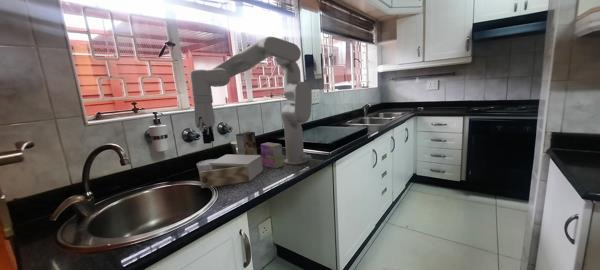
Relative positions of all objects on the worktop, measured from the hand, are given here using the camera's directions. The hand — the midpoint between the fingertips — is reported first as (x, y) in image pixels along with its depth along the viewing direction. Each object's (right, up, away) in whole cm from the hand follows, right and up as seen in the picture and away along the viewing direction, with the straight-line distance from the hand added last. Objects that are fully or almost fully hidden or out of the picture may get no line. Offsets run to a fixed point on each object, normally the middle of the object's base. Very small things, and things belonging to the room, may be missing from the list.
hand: (209, 142), depth 110 cm
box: (+25, -13, +24) cm, 37 cm away
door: (+7, -19, 0) cm, 20 cm away
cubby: (+9, -16, +13) cm, 23 cm away
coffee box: (+10, -12, +37) cm, 40 cm away
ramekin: (-7, -16, +21) cm, 27 cm away
